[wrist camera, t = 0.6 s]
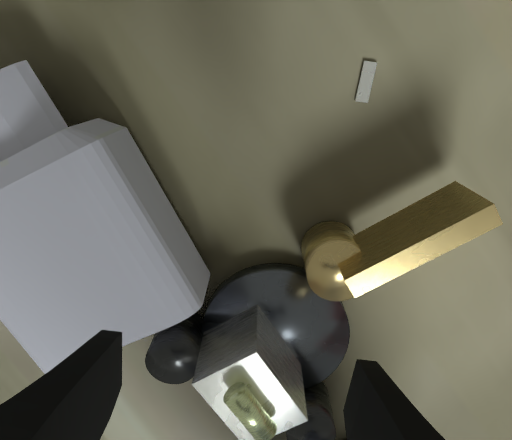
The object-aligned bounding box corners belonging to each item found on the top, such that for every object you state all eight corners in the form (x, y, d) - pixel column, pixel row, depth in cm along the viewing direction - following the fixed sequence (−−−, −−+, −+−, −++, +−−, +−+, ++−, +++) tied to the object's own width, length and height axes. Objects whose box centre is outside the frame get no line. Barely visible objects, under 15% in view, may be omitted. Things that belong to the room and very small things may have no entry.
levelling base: (503, 325, 23) (583, 410, 17) (248, 439, 27) (244, 541, 21) (373, 54, 18) (423, 48, 12) (80, 239, 22) (14, 301, 16)
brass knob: (318, 280, 22) (331, 331, 18) (290, 238, 21) (298, 281, 17) (459, 206, 21) (511, 243, 16) (436, 158, 20) (484, 182, 15)
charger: (58, -4, 18) (212, 267, 23) (-98, 88, 19) (78, 324, 24) (-10, -28, 13) (200, 316, 18) (-204, 95, 15) (36, 381, 20)
